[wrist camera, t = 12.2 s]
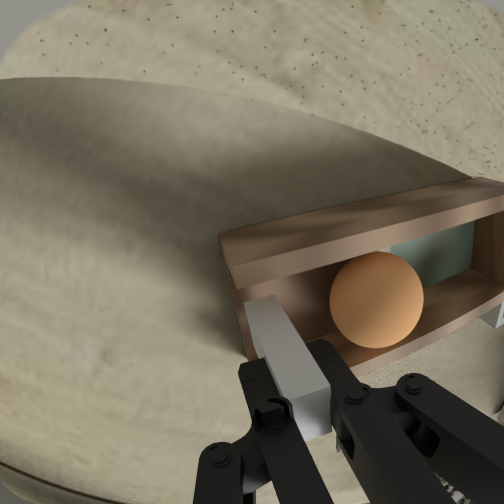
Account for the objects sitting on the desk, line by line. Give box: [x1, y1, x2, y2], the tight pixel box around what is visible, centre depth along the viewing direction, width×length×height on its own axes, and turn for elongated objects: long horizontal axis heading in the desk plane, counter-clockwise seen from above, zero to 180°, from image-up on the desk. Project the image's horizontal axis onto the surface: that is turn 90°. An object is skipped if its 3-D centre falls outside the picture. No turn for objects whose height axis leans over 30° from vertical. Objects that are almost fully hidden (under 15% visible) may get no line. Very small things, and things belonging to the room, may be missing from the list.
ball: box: [330, 251, 424, 348], centre depth 16 cm, size 5×5×5 cm
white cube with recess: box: [479, 302, 504, 329], centre depth 23 cm, size 4×4×3 cm
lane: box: [218, 177, 504, 378], centre depth 17 cm, size 20×8×4 cm, turn 100°
